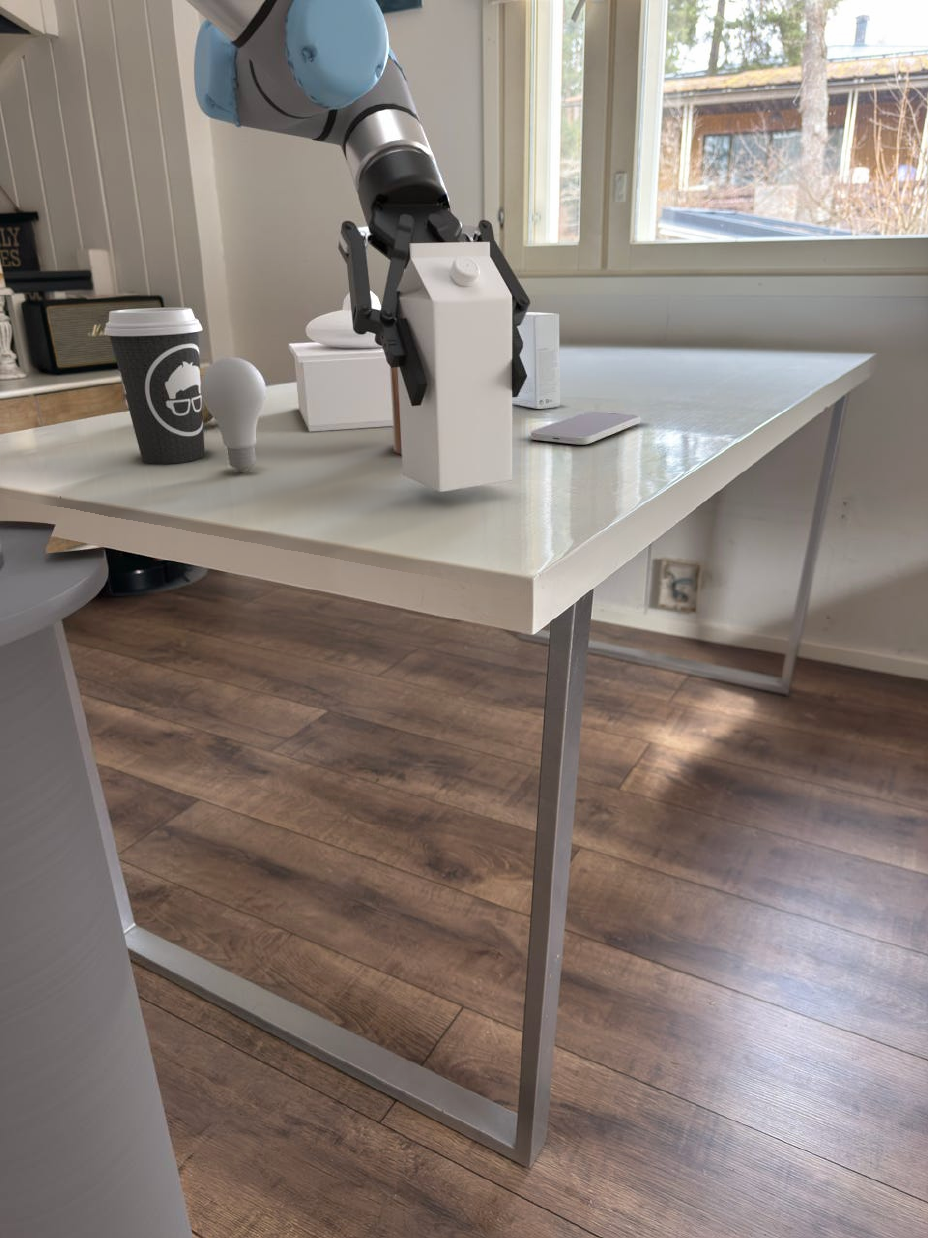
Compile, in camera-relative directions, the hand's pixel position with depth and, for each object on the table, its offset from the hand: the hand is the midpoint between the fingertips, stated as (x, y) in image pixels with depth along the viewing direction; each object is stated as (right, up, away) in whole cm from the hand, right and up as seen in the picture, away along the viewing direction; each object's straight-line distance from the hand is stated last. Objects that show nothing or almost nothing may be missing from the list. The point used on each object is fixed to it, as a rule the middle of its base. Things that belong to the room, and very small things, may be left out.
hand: (469, 390), depth 69 cm
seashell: (-36, +7, +43) cm, 56 cm away
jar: (-4, 0, +25) cm, 25 cm away
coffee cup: (-32, -1, +24) cm, 40 cm away
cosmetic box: (+9, +11, +50) cm, 52 cm away
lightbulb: (-22, -4, +17) cm, 28 cm away
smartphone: (+14, +3, +31) cm, 35 cm away
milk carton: (-1, -6, +6) cm, 9 cm away
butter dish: (-13, +9, +46) cm, 48 cm away
